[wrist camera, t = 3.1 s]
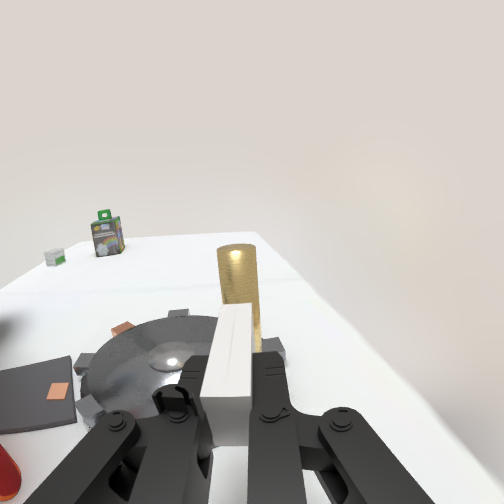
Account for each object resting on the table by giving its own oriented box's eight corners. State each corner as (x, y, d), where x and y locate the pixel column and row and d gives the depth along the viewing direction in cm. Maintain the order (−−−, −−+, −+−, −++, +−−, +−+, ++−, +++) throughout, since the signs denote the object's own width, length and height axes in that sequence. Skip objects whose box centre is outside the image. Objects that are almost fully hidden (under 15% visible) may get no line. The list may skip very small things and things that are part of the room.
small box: (55, 266, 72) (52, 252, 70) (46, 266, 73) (43, 252, 71) (66, 261, 77) (63, 247, 76) (57, 261, 78) (54, 248, 77)
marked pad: (1, 374, 20) (-1, 369, 20) (71, 359, 27) (69, 354, 27) (-11, 435, 11) (-15, 429, 11) (77, 422, 17) (73, 416, 17)
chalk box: (125, 247, 90) (119, 206, 86) (120, 254, 81) (114, 208, 78) (102, 251, 88) (95, 210, 84) (95, 257, 79) (88, 213, 75)
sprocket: (73, 344, 29) (45, 248, 25) (216, 302, 41) (207, 216, 38) (94, 484, 11) (-10, 327, 7) (332, 376, 23) (341, 237, 19)
